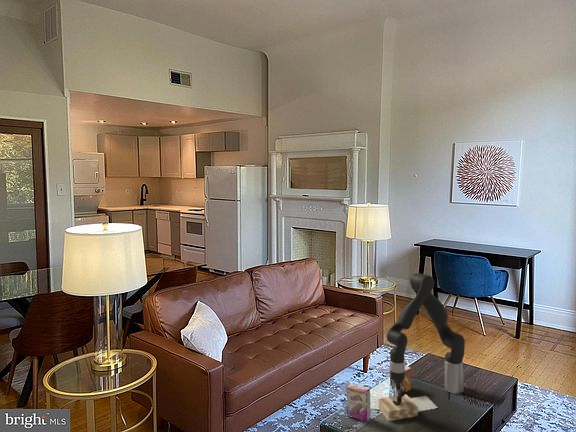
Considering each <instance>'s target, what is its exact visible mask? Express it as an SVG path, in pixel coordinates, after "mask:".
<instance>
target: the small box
mask: <svg viewBox="0 0 576 432" xmlns="http://www.w3.org/2000/svg"><path fill="white" fill-rule="evenodd" d="M402 382H403V388H406V391H405V393H407V392H408V391H411V390H412V368H411V367H410V366H408V365H406V364H405V379H404V380H403V381H402Z"/></svg>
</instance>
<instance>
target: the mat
mask: <svg viewBox="0 0 576 432" xmlns="http://www.w3.org/2000/svg"><path fill="white" fill-rule="evenodd" d="M409 398H410V399H411V400H412V401H413V402H414V403H415V404H416V405H417V406H418V413H420V412H421V413H422V412H427V411H432V410H437V409H436V408H438V406H437V405H436V404H435V403H434V402H433V401H432V400H431V399H430V398H429V397H428V396H427V395H423V396H417V397H409ZM431 409H432V410H431ZM438 409H439V408H438ZM426 410H427V411H426Z"/></svg>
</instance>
